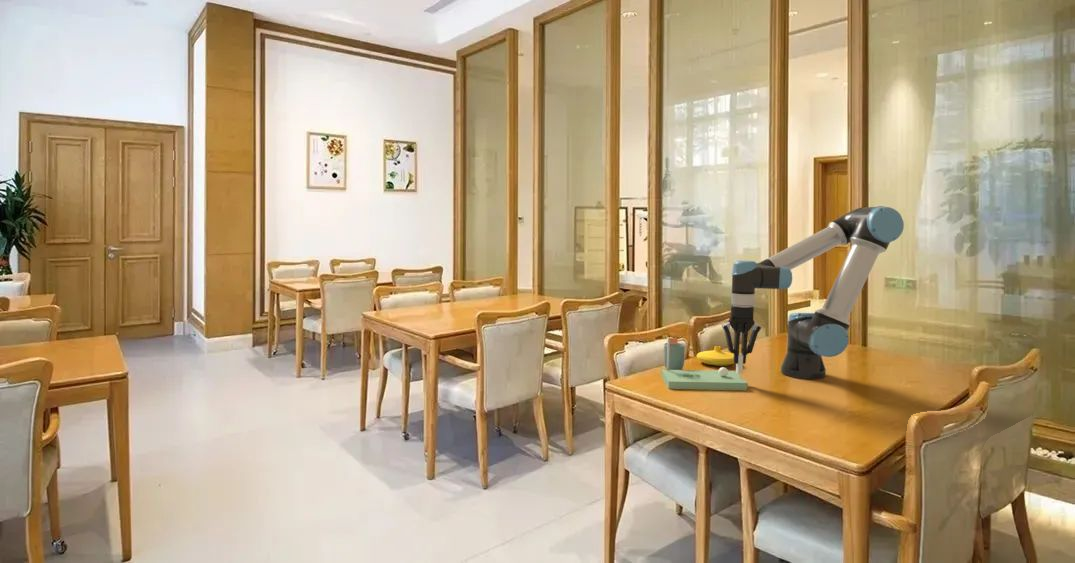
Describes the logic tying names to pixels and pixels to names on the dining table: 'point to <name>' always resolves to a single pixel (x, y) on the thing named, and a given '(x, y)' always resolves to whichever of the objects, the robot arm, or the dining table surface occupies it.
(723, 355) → the yellow round domed piece
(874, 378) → the dining table surface
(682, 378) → the green stand
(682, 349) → the cup
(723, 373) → the ball
